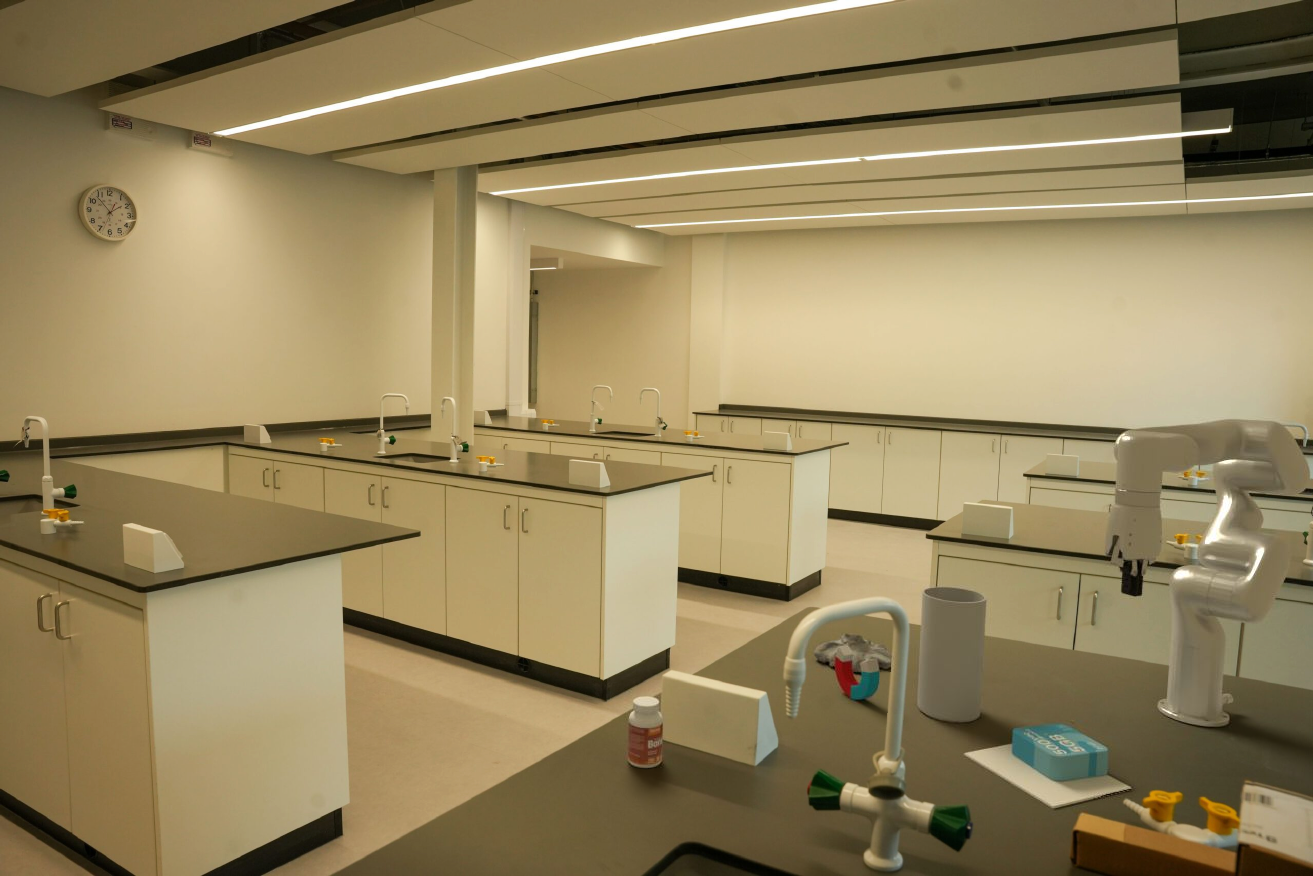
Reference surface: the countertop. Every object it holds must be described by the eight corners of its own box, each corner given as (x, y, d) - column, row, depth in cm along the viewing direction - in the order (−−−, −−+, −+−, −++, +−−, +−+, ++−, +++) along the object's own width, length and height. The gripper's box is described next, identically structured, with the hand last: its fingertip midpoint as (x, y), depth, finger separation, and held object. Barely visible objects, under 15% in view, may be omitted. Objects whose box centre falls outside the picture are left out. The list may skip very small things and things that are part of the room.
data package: (1113, 750, 144) (1056, 757, 141) (1111, 775, 145) (1054, 783, 141) (1062, 722, 156) (1008, 728, 153) (1061, 745, 156) (1007, 752, 153)
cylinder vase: (916, 718, 168) (922, 598, 166) (917, 696, 180) (922, 584, 178) (982, 728, 164) (988, 605, 162) (978, 704, 176) (984, 590, 174)
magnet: (878, 706, 174) (880, 660, 173) (868, 708, 173) (870, 662, 172) (843, 687, 185) (844, 643, 184) (833, 689, 183) (835, 645, 183)
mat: (1036, 740, 159) (1037, 738, 159) (1131, 789, 140) (1131, 787, 140) (964, 755, 152) (964, 753, 152) (1052, 808, 134) (1053, 806, 134)
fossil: (858, 632, 213) (888, 616, 201) (876, 673, 209) (908, 660, 197) (802, 651, 206) (830, 636, 194) (820, 695, 202) (849, 682, 190)
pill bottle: (651, 772, 143) (652, 711, 142) (621, 764, 146) (622, 703, 145) (668, 758, 148) (669, 699, 148) (639, 750, 152) (640, 692, 151)
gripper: (1146, 495, 162) (1140, 586, 163) (1091, 498, 156) (1086, 592, 158) (1183, 500, 155) (1177, 596, 156) (1127, 504, 149) (1121, 603, 151)
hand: (1131, 594), depth 157 cm, fingers closed
